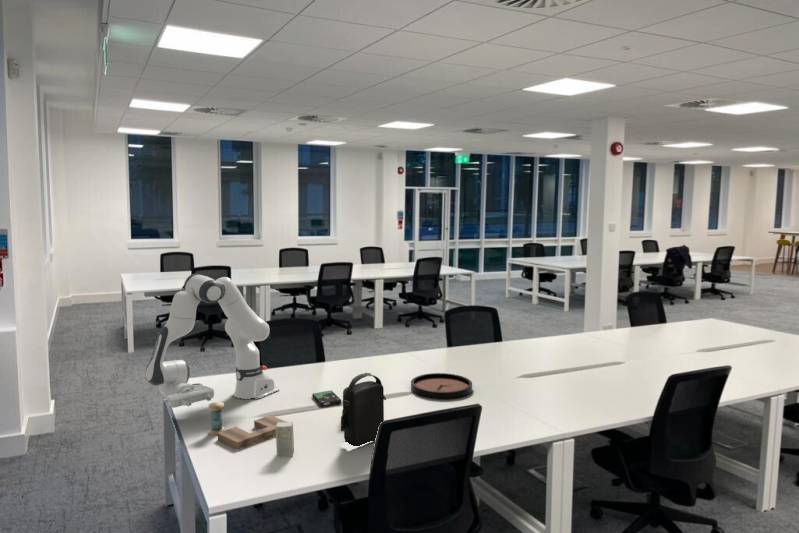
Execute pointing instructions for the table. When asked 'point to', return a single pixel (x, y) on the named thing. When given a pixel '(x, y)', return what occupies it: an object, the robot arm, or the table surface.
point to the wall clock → (441, 386)
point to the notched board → (242, 438)
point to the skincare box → (284, 439)
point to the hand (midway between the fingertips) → (200, 401)
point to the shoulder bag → (362, 410)
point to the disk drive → (326, 398)
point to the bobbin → (216, 417)
